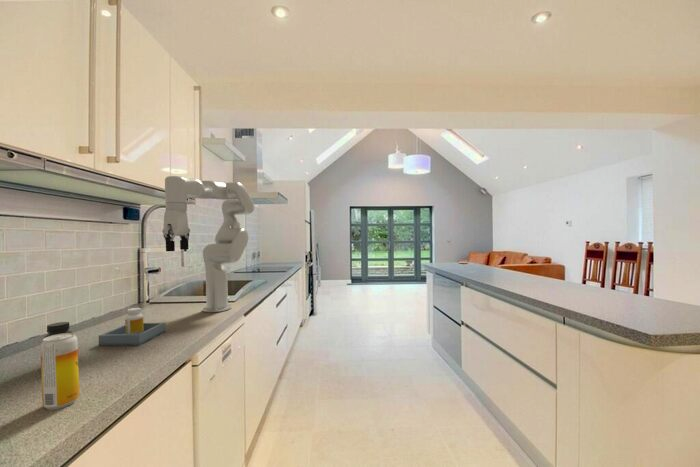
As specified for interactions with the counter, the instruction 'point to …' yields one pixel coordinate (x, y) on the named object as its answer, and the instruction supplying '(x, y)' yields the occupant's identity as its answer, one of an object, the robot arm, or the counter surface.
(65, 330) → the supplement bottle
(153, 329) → the tray
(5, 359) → the counter surface
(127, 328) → the supplement bottle
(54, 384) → the pill bottle
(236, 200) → the robot arm
